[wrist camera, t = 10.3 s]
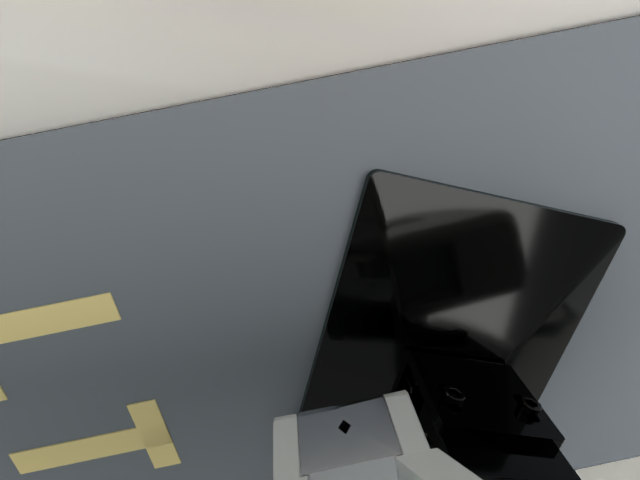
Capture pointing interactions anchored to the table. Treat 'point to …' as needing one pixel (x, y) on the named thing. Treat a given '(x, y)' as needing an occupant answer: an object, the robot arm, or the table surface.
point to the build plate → (461, 316)
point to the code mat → (289, 250)
